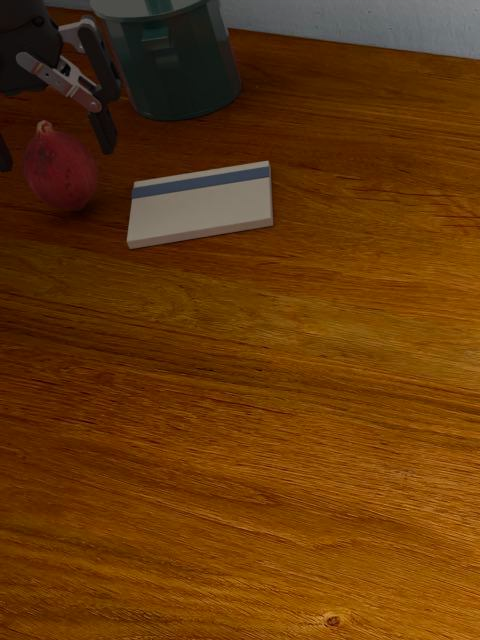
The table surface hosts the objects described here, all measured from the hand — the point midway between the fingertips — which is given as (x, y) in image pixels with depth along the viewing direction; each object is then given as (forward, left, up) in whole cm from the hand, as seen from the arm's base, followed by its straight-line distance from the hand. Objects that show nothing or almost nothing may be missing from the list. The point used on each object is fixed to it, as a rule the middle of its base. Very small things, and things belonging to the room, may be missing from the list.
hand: (58, 159), depth 89 cm
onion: (0, 0, -5) cm, 5 cm away
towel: (+11, -3, -5) cm, 12 cm away
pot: (+9, +20, -5) cm, 22 cm away
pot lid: (+9, +20, +5) cm, 22 cm away
